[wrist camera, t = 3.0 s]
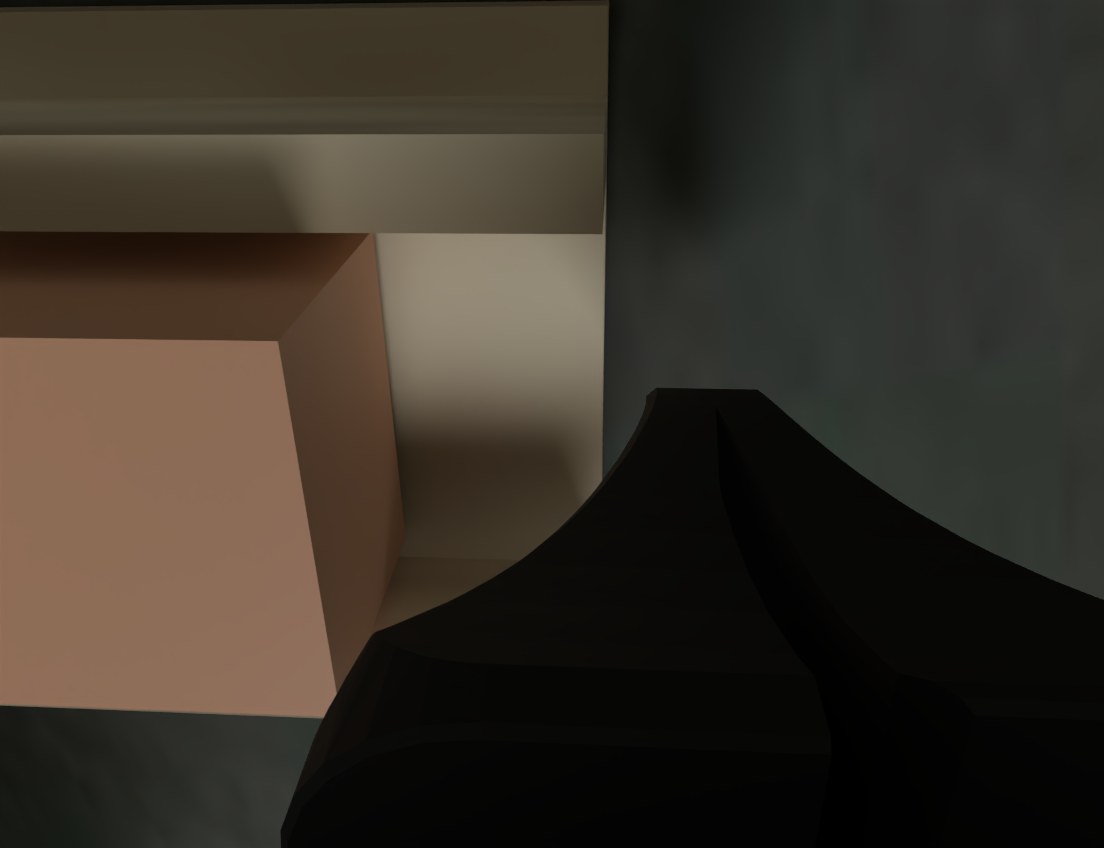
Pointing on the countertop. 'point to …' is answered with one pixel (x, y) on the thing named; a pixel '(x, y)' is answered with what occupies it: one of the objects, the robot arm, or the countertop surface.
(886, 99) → the countertop surface
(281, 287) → the block
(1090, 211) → the countertop surface
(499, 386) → the chute
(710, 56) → the countertop surface
